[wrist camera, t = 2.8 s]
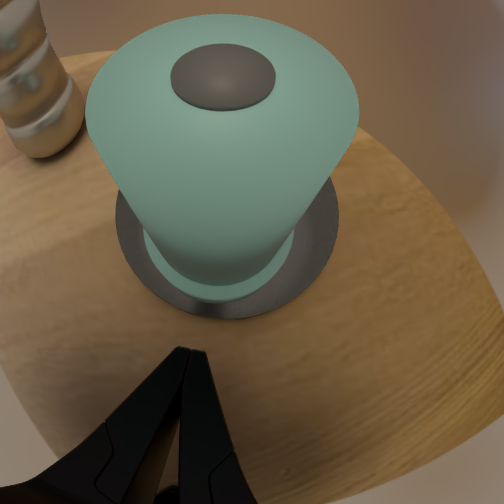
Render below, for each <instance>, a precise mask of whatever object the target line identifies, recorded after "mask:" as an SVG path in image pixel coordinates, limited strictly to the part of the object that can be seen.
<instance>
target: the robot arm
mask: <svg viewBox="0 0 504 504" xmlns="http://www.w3.org/2000/svg"><path fill="white" fill-rule="evenodd" d="M179 420H180V433H179V471H178V487H177V486H169V487H167V488H165V489H164V490H162V491H161V492H159V493H157V494H156V492H157V488H158V485H159V482H160V479H161V476H162V473H163V470H164V467H165V463H166V460H167V457H168V454H169V451H170V448H171V445H172V442H173V439H174V436H175V433H176V430H177V427H178V424H179ZM171 491H175V492H176V493H177V494H176V495H175V494H172V493H171ZM0 504H258V503H257V501H256V499H255V498H254V496H253V494H252V492H251V490H250V488H249V486H248V484H247V482H246V479H245V477H244V474H243V472H242V469H241V467H240V464H239V461H238V458H237V455H236V452H234V447H233V444H232V440H231V437H230V434H229V431H228V428H227V425H226V421H225V418H224V415H223V411H222V408H221V405H220V401H219V398H218V394H217V391H216V387H215V384H214V380H213V377H212V373H211V369H210V366H209V362H208V358H207V354H206V352H205V351H200V350H195V349H193V350H191V349H189V348H185V347H180V346H178V347H176V348H175V349H174V350H173V351H172V352H171V353H170V354H169V355H168V356H167V357H166V358H165V359H164V360H163V361H162V362H161V363H160V364H159V365H158V366H157V367H156V368H155V369H154V370H153V372H152V373H151V374H150V375H149V376H148V377H147V378H146V379H145V380H144V381H143V382H142V383H141V384H140V385H139V386H138V387H137V388H136V389H135V390H134V391H133V392H132V393H131V394H130V395H129V396H128V397H127V398H126V399H125V400H124V401H123V402H122V403H121V404H120V405H119V406H118V407H117V408H116V409H115V410H114V411H113V412H112V413H111V414H110V415H109V416H108V418H107V419H106V420H105V423H104V422H102V423H101V424H100V425H99V426H98V427H97V428H96V430H95V431H93V432H92V433H91V434H90V435H89V436H88V437H87V438H86V439H85V440H84V441H83V442H82V443H80V444H79V445H78V446H77V447H75V448H74V449H73V450H72V451H70V452H69V453H68V454H66V455H65V456H64V457H62V458H61V459H60V460H58V461H57V462H56V463H54V464H53V465H51V466H50V467H49V468H47V469H46V470H44V471H43V472H42V473H40V474H39V475H37V476H36V477H34V478H32V479H30V480H28V481H25V482H23V483H19V484H15V485H10V486H5V487H0Z"/></svg>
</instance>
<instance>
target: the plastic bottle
mask: <svg viewBox="0 0 504 504" xmlns="http://www.w3.org/2000/svg"><path fill="white" fill-rule="evenodd" d="M84 113H85V108H84V103H83V98H82V93H81V91H80V89H79V88H78V86H77V85H76V83H75V82H74V80H73V79H72V77H71V76H70V75H69V74H68V73H67V72H66V71H65V69H64V67H63V65H62V64H61V62H60V60H59V58H58V56H57V55H56V53H55V51H54V49H53V47H52V45H51V43H50V40H49V37H48V34H47V33H46V27H45V24H44V20H43V17H42V13H41V8H40V1H39V0H0V117H1V118H2V120H3V122H4V124H5V127H6V130H7V132H8V134H9V136H10V138H11V140H12V141H13V143H14V145H15V146H16V148H18V149H19V150H20V151H22V152H23V153H25V154H26V155H27V156H29V157H32V158H45V157H49V156H52V155H54V154H56V153H58V152H59V151H61V150H62V149H64V148H65V147H66V146H67V145H68V144H69V143H70V142H71V141H72V140H73V139H74V137H75V136H76V135H77V133H78V131H79V129H80V127H81V124H82V121H83V117H84Z"/></svg>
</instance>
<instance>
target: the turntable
mask: <svg viewBox="0 0 504 504" xmlns="http://www.w3.org/2000/svg"><path fill="white" fill-rule="evenodd" d="M115 219H116V228H117V235H118V238H119V242H120V246H121V249H122V251H123V253H124V256H125V258H126V260H127V262H128V263H129V265H130V267H131V268H132V270H133V271H134V273H135V274H136V275H137V276H138V278H139V279H140V280H141V281H142V282H143V284H144V285H146V286H147V287H148V288H149V289H150V290H151V291H152V292H153V293H155V294H156V295H157V296H159V297H160V298H162V299H163V300H165V301H166V302H168V303H169V304H171V305H172V306H175V307H177V308H179V309H181V310H183V311H185V312H188V313H191V314H194V315H198V316H201V317H207V318H213V319H241V318H249V317H253V316H256V315H260V314H264V313H266V312H269V311H271V310H273V309H276V308H278V307H280V306H282V305H284V304H286V303H287V302H289V301H291V300H292V299H294V298H296V297H297V296H298V295H299V294H300V293H302V292H303V291H304V290H305V289H307V288H308V287H309V286H310V284H311V283H312V282H313V281H314V280H315V279H316V278H317V277H318V275H319V274H320V273H321V271H322V270H323V268H324V267H325V265H326V263H327V261H328V259H329V257H330V255H331V253H332V251H333V247H334V244H335V241H336V237H337V231H338V223H339V210H338V202H337V196H336V193H335V189H334V186H333V183H332V181H331V178H330V176H329V177H328V179H327V180H326V182H325V183H324V185H323V186H322V188H321V189H320V191H319V192H318V194H317V195H316V197H315V198H314V200H313V201H312V203H311V204H310V205H309V207H308V208H307V210H306V211H305V213H304V214H303V216H302V217H301V219H300V220H299V222H298V223H297V225H296V226H295V227H294V236H293V241H292V246H291V248H290V251H289V254H288V256H287V258H286V260H285V261H284V263H283V265H282V266H281V267H280V269H279V270H278V271H277V272H276V274H275V275H274V276H273V277H272V278H271V279H270V280H269V281H268V282H267V283H266V284H265V285H264V286H263V287H262V288H261V289H260V290H258V291H257V292H256V293H254V294H252V295H251V296H249V297H247V298H244V299H242V300H239V301H236V302H231V303H224V304H212V303H206V302H201V301H198V300H195V299H192V298H190V297H188V296H186V295H184V294H183V293H181V292H180V291H178V290H177V289H176V288H175V287H174V286H172V284H171V283H170V282H169V281H168V280H167V279H166V278H165V277H164V276H163V274H162V273H161V272H160V271H159V270H158V269H157V267H156V266H155V264H154V263H153V261H152V259H151V257H150V255H149V253H148V251H147V247H146V244H145V240H144V233H143V226H142V224H141V223H140V221H139V220H138V218H137V216H136V215H135V213H134V212H133V210H132V209H131V207H130V205H129V204H128V202H127V200H126V199H125V197H124V196H123V194H122V192H121V191H120V189H119V191H118V196H117V202H116V218H115Z"/></svg>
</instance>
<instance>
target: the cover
mask: <svg viewBox="0 0 504 504" xmlns="http://www.w3.org/2000/svg"><path fill="white" fill-rule="evenodd" d="M358 104H359V103H358V97H357V94H356V90H355V87H354V85H353V83H352V81H351V79H350V77H349V75H348V74H347V72H346V71H345V69H344V68H343V66H342V65H341V64H340V63H339V61H338V60H337V59H336V58H335V57H334V56H333V55H332V54H331V53H330V52H329V51H328V50H326V49H325V48H324V47H323V46H321V45H320V44H319V43H317V42H316V41H314V40H313V39H311V38H310V37H308V36H306V35H305V34H303V33H301V32H299V31H297V30H295V29H293V28H290V27H288V26H285V25H282V24H280V23H277V22H273V21H270V20H267V19H262V18H257V17H252V16H245V15H234V14H208V15H199V16H192V17H187V18H182V19H179V20H175V21H171V22H168V23H165V24H162V25H160V26H157V27H154V28H152V29H150V30H148V31H146V32H144V33H142V34H140V35H139V36H137V37H135V38H134V39H132V40H130V41H129V42H128V43H126V44H125V45H124V46H122V47H121V48H120V49H118V50H117V51H116V52H115V53H114V54H113V55H112V56H111V57H110V58H109V59H108V60H107V61H106V63H105V64H104V65H103V66H102V67H101V69H100V70H99V72H98V73H97V75H96V76H95V78H94V80H93V82H92V85H91V87H90V89H89V93H88V96H87V100H86V108H85V118H86V126H87V130H88V133H89V136H90V139H91V141H92V142H93V144H94V146H95V148H96V150H97V151H98V153H99V155H100V157H101V158H102V160H103V162H104V164H105V165H106V167H107V169H108V171H109V172H110V174H111V176H112V177H113V179H114V181H115V182H116V184H117V186H118V187H119V189H120V191H121V192H122V194H123V196H124V197H125V199H126V200H127V202H128V204H129V205H130V207H131V209H132V210H133V212H134V213H135V215H136V216H137V218H138V220H139V221H140V223H141V224H142V226H143V233H144V240H145V244H146V247H147V251H148V253H149V255H150V257H151V259H152V261H153V263H154V264H155V266H156V267H157V269H158V270H159V271H160V272H161V273H162V274H163V276H164V277H165V278H166V279H167V280H168V281H169V282H170V283H171V284H172V286H174V287H175V288H176V289H177V290H178V291H180V292H181V293H183V294H184V295H186V296H188V297H190V298H192V299H195V300H198V301H201V302H206V303H212V304H224V303H231V302H236V301H239V300H242V299H244V298H247V297H249V296H251V295H252V294H254V293H256V292H257V291H258V290H260V289H261V288H262V287H263V286H264V285H265V284H266V283H267V282H268V281H269V280H270V279H271V278H272V277H273V276H274V275H275V274H276V272H277V271H278V270H279V269H280V267H281V266H282V265H283V263H284V261H285V260H286V258H287V256H288V254H289V251H290V248H291V246H292V241H293V236H294V227H295V226H296V225H297V223H298V222H299V220H300V219H301V217H302V216H303V214H304V213H305V211H306V210H307V208H308V207H309V205H310V204H311V203H312V201H313V200H314V198H315V197H316V195H317V194H318V192H319V191H320V189H321V188H322V186H323V185H324V183H325V182H326V180H327V179H328V177H329V176H330V174H331V173H332V171H333V170H334V168H335V167H336V165H337V164H338V162H339V161H340V159H341V158H342V156H343V155H344V153H345V152H346V150H347V149H348V147H349V146H350V144H351V142H352V140H353V137H354V135H355V133H356V129H357V126H358V122H359V121H358V120H359V105H358Z"/></svg>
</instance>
